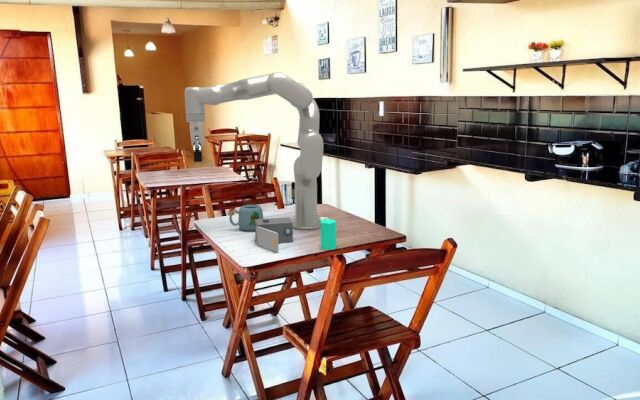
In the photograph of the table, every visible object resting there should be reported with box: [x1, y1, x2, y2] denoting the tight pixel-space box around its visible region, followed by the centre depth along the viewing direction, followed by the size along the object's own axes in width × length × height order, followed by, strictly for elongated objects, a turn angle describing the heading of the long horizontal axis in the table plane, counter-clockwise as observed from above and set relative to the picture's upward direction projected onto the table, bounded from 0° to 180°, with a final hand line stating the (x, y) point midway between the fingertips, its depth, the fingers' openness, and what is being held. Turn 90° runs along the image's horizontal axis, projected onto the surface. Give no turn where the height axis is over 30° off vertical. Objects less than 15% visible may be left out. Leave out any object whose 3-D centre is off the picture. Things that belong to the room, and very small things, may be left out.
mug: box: [229, 204, 264, 232], centre depth 228 cm, size 15×11×10 cm
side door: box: [255, 226, 279, 253], centre depth 199 cm, size 14×2×7 cm, turn 41°
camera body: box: [254, 217, 294, 244], centre depth 210 cm, size 14×9×9 cm, turn 103°
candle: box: [320, 217, 337, 251], centre depth 200 cm, size 6×6×12 cm
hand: (198, 160), depth 216 cm, fingers open, 9 cm apart
